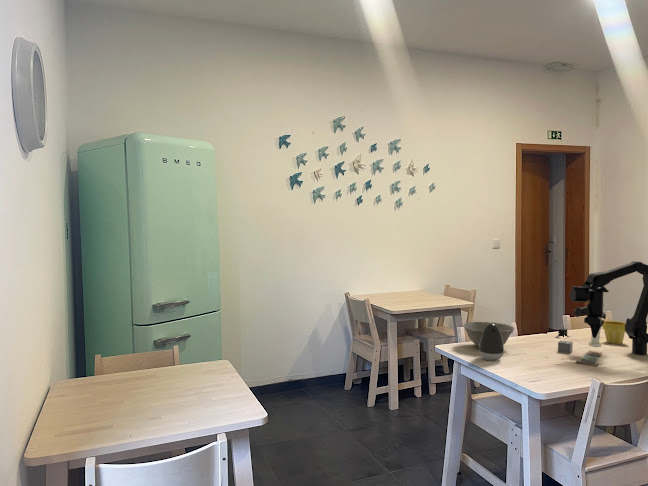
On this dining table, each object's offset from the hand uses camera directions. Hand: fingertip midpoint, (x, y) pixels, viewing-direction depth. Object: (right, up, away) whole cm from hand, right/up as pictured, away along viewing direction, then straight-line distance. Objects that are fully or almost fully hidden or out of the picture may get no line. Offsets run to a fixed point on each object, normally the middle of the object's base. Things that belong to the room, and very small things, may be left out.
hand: (594, 336), depth 222 cm
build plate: (+2, -7, +35) cm, 36 cm away
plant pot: (+22, -7, +23) cm, 32 cm away
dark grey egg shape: (-49, -8, -9) cm, 51 cm away
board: (-5, -8, -7) cm, 12 cm away
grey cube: (-12, -8, +2) cm, 15 cm away
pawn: (0, -4, 0) cm, 4 cm away
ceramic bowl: (-44, -7, +12) cm, 46 cm away
